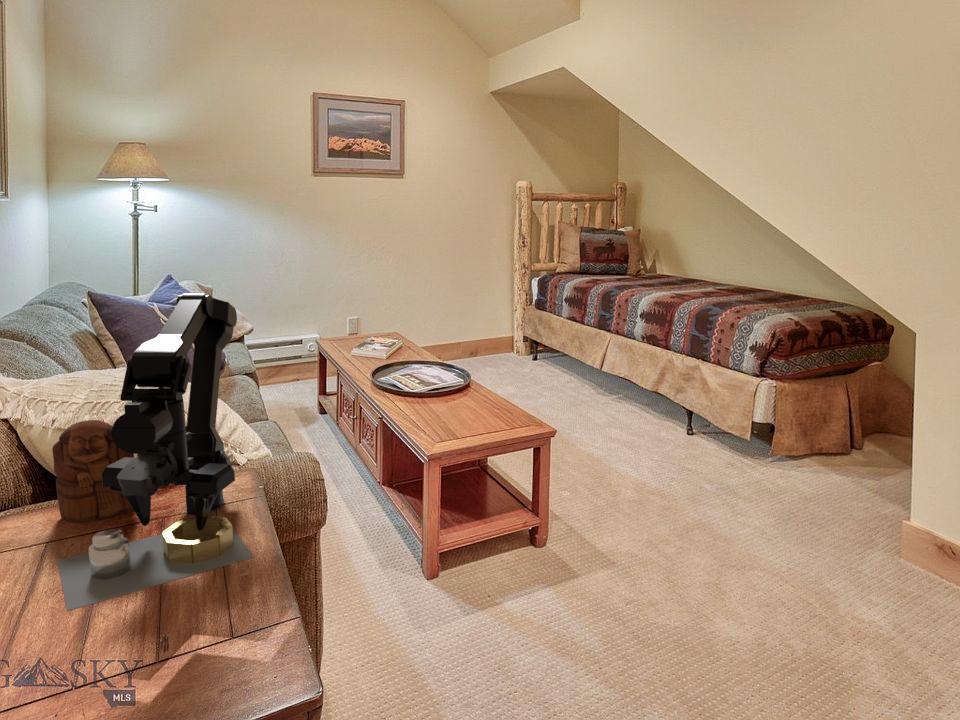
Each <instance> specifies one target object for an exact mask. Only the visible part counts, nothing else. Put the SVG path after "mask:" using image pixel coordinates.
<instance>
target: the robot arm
mask: <svg viewBox="0 0 960 720" xmlns="http://www.w3.org/2000/svg"><path fill="white" fill-rule="evenodd" d="M237 321H238V315H237V310H236V308H235V307H234V306H233V304H231V303H230V302H228V301H225V300H221V299H219V298H218V299H217V298H215V297H213V296H212V295H210V294H207V293H182V294H179V295H178V296H177V297H176V305H175V306H174V309H173V311H171V313H170V315H169V317H168V318H167V320H166V322H165V323H164V325H163V326H162V328H161V330H160V331H159V333H158V334H157V336H156V337H154V338H152V339H149V340H146V341H145V342H142V343H141V344H140V345H139V346H138V347H137V348H136V349H135V350H134V351H133V353H132V354H131V356H130V357H129V359H128V361H127V365H126V369H125V374H124V378H123V383H122V388H121V392H120V399H119V400H120V401H121V402H127V403H125V404H124V406H123V407H124V413H123V414H121V415H120V416H119V417H118V418H116V419H115V421H114V422H113V424H112V426H113V427H112V430H111V435H112V439H113V441H114V443H115V444H116V445H117V446H118V447H119V448H120V449H121V450H123V451H125V452H127V453H132V454H134V455H136V456H135V457H134V458H130V457H124V458H122V459H120V460H118V461H116V462H114V463H112V464H110V465H108V466H106V467H105V468H104V470H103V472H102V474H101V478H102V485H103V486H104V487H111V488H110V489H111V491H114V492H118V493H120V494H122V495H124V496H125V497H126V498H127V499H128V501H129V502H130V504H131V505H132V507H133V509H134V511H133V512H134V513H135V514H136V516H137V517H138V520H139V522H140V523H141V525H142V526H144V527H146V526H148V525H149V524H150V521H151V511H152V507H151V506H152V497H153V496H154V495H156V493H157V492H158V489H159V488H160V487H162V488H167V487H169V485H170V484H171V483H172V482H173V484H174V486H176V487H178V486H185V506H186V507H185V508H186V514H187V515H193V516H194V515H195V517H196V524H197V529H198V530H199V531H201V530H202V529H203V528H204V526H205V523H206V521H207V518H208V516H210V513H211V512H212V511H215V510H217V509H220V507H222V506H223V504H224V491H223V490H224V489H226V488H227V487H228V486H230V485H231V484H233V482H235V481H236V476H235V473H236V472H235V469H234V467H233V463H232V461H231V459H230V458H229V456H228V455H227V453H226V452H225V450H224V448H225V446H224V445H225V444H224V442H223V439H222V438H221V436H220V434H219V432H218V430H217V429H216V427H217V426H216V424H217V414H218V413H217V411H218V403H219V402H218V401H219V392H220V391H219V388H220V379H221V378H220V376H221V366H222V354H223V350H224V349H225V348H226V346H227V345H228V344H229V342H230V341H231V340H232V338H233V334H234V327H236V326H237ZM192 346H193V357H192V364H191V362H190V359H189V357H188V354H189V351H190V349H191V347H192ZM190 377H191V378H190ZM189 380H190V388H189V398H188V409H187V420H186V417H185V415H186V414H185V404H184V403H185V402H184V396H183V395H184V394H185V393H187V390H188V385H189ZM136 386H137V387H138V388H136Z"/></svg>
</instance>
